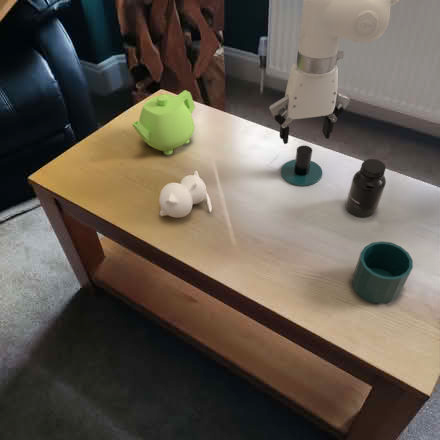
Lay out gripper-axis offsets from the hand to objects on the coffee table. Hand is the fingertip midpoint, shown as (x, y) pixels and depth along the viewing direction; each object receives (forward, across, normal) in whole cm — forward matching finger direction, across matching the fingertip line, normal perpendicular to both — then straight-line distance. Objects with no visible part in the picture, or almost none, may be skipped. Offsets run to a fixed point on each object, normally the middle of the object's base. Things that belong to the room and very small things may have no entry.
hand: (305, 137), depth 98 cm
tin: (+10, -5, +36) cm, 38 cm away
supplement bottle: (+10, -10, +15) cm, 21 cm away
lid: (+10, 0, 0) cm, 10 cm away
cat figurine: (+11, +29, +7) cm, 31 cm away
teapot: (+11, +31, -21) cm, 39 cm away
